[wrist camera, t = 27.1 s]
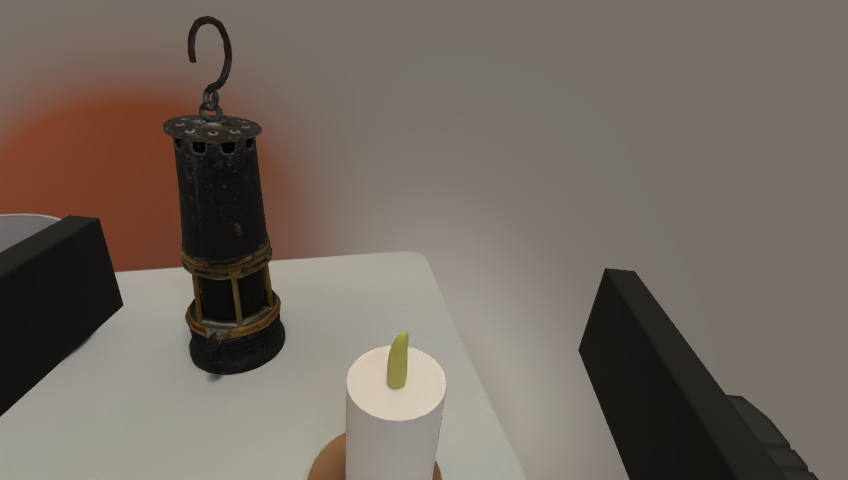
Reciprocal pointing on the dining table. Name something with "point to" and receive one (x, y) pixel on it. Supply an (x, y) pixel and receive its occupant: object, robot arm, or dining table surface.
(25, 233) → the planter
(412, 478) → the candle
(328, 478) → the coaster
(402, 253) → the dining table surface
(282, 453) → the dining table surface
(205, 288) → the lantern
